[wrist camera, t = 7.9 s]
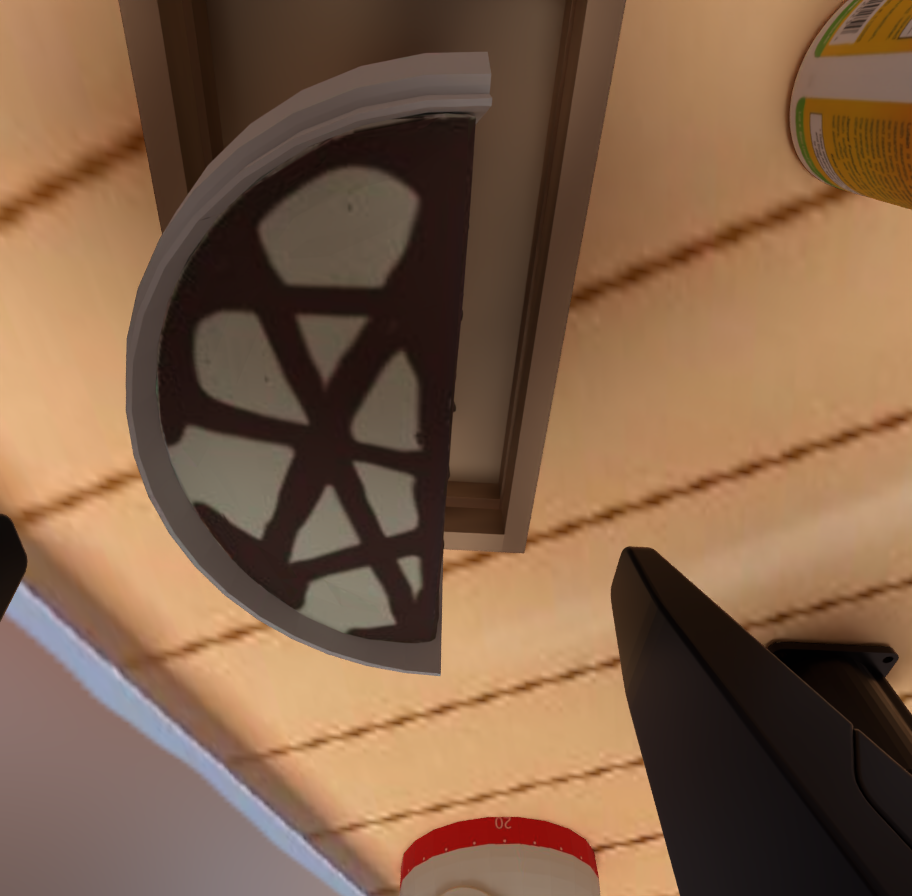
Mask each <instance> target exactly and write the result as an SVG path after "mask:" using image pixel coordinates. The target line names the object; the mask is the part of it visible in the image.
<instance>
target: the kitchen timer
mask: <svg viewBox="0 0 912 896" xmlns="http://www.w3.org/2000/svg"><path fill="white" fill-rule="evenodd" d="M400 896H600V886H599V877H598V871H597V866H596V861H595V855H594V851H593V850H592V849H591V847H590V846H589V844H588V843H587V841H586V840H585V839H584V838H582V837H581V836H579V835H578V834H576V833H574V832H573V831H571V830H570V829H568V828H565V827H562V826H559V825H556V824H553V823H550V822H547V821H541V820H534V819H527V818H520V817H486V818H480V819H473V820H467V821H460V822H456V823H453V824H450V825H447V826H444V827H441V828H438V829H435V830H433V831H431V832H429V833H428V834H426V835H424V836H423V837H421V838H419V839H417V840H416V841H415V842H414V843H413V844H412V845H411V846H410V847H409V848H408V850H407V851H406V852H405V853H404V857H403V861H402V866H401V881H400Z"/></svg>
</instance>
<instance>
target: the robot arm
mask: <svg viewBox="0 0 912 896" xmlns="http://www.w3.org/2000/svg"><path fill="white" fill-rule="evenodd" d="M26 568H27V555H26V552H25V550H24V547H23V545H22V543H21V540H20V538H19V535H18V533H17V531H16V528H15V526H14V524H13V522H12V520H11V519H10V518H9V517H8V516H7V515H4V514H0V621H1V619H2V618H3V616H4V614H5V612H6V610H7V608H8V606H9V604H10V602H11V600H12V598H13V596H14V594H15V592H16V590H17V588H18V586H19V584H20V582H21V580H22V578H23V576H24V574H25V572H26ZM611 604H612V610H613V617H614V623H615V630H616V636H617V643H618V649H619V656H620V662H621V669H622V675H623V681H624V687H625V693H626V697H627V701H628V705H629V709H630V713H631V717H632V720H633V724H634V728H635V732H636V735H637V739H638V743H639V746H640V750H641V754H642V757H643V761H644V765H645V768H646V772H647V776H648V779H649V783H650V787H651V790H652V794H653V798H654V801H655V805H656V809H657V812H658V816H659V820H660V823H661V827H662V831H663V835H664V838H665V842H666V846H667V849H668V853H669V857H670V860H671V864H672V868H673V871H674V875H675V879H676V882H677V886H678V890H679V893H680V896H912V714H911V713H910V712H909V710H908V709H907V707H906V706H905V705H904V703H903V702H902V701H901V699H900V698H899V696H898V695H897V694H896V692H895V691H894V690H893V688H892V687H891V685H890V684H889V683H888V681H887V680H886V678H885V677H886V675H887V674H888V673H889V671H890V670H891V669H892V667H893V666H894V664H895V663H896V662H897V660H898V658H899V657H898V655H897V653H896V652H895V651H894V649H893V648H891V647H884V646H861V645H838V644H815V643H792V642H777V643H774V644H772V645H770V646H769V647H768V649H767V648H766V647H764V646H763V645H762V644H761V643H760V642H759V641H758V640H756V639H755V638H754V637H753V636H752V635H751V634H750V633H749V632H747V631H746V630H745V629H744V628H743V627H742V626H741V625H739V624H738V623H737V622H736V621H735V620H734V619H733V618H732V617H730V616H729V615H728V614H727V613H726V612H725V611H724V610H722V609H721V608H720V607H719V606H718V605H717V604H716V603H714V602H713V601H712V600H711V599H710V598H709V597H708V596H707V595H705V594H704V593H703V592H702V591H701V590H700V589H699V588H697V587H696V586H695V585H694V584H693V583H692V582H691V581H689V580H688V579H687V578H686V577H685V576H684V575H683V574H682V573H680V572H679V571H678V570H677V569H676V568H675V567H674V566H672V565H671V564H670V563H669V562H668V561H667V560H666V559H664V558H663V557H662V556H661V555H660V554H659V553H658V552H657V551H655V550H654V549H652V548H648V547H631V546H629V547H626V548H624V550H623V551H622V553H621V556H620V559H619V562H618V566H617V569H616V572H615V576H614V579H613V582H612V586H611Z"/></svg>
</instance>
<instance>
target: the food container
mask: <svg viewBox="0 0 912 896" xmlns="http://www.w3.org/2000/svg"><path fill="white" fill-rule="evenodd" d="M490 83H491V69H490V63H489V57H488V52H451V53H423V54H418V55H413V56H408V57H403V58H398V59H393V60H388V61H384V62H379V63H374V64H369V65H364V66H360V67H357V68H355V69H353V70H350V71H348V72H345V73H343V74H340V75H338V76H335V77H333V78H331V79H328V80H326V81H323V82H321V83H318V84H316V85H313V86H311V87H309V88H306V89H304V90H301V91H300V92H298V93H297V94H295V95H294V96H292V97H291V98H289V99H288V100H286V101H285V102H283V103H282V104H280V105H278V106H277V107H275V108H274V109H272V110H271V111H269V112H268V113H266V114H265V115H263V116H262V117H260V118H259V119H257V120H255V121H254V122H252V123H251V124H250V125H249V126H248V127H247V128H246V129H245V130H244V131H243V132H241V133H240V134H239V135H238V136H237V137H236V138H235V139H234V140H233V141H232V142H231V143H230V144H229V145H228V146H227V147H226V148H225V149H224V150H223V151H222V152H221V153H220V154H219V155H218V156H217V157H216V158H215V159H214V160H213V161H212V162H211V163H210V164H209V165H208V166H207V167H206V169H205V170H204V172H203V173H202V175H201V176H200V178H199V179H198V180H197V182H196V183H195V185H194V186H193V188H192V189H191V191H190V192H189V193H188V195H187V196H186V198H185V199H184V201H183V202H182V204H181V205H180V206H179V208H178V209H177V211H176V212H175V214H174V216H173V217H172V219H171V221H170V222H169V224H168V226H167V227H166V229H165V231H164V232H163V234H162V236H161V237H160V239H159V241H158V244H157V246H156V248H155V251H154V253H153V255H152V257H151V260H150V262H149V264H148V267H147V269H146V271H145V273H144V276H143V278H142V280H141V283H140V285H139V287H138V290H137V295H136V299H135V304H134V308H133V313H132V317H131V322H130V327H129V331H128V336H127V352H126V414H127V420H128V426H129V431H130V437H131V443H132V449H133V455H134V458H135V461H136V463H137V466H138V469H139V472H140V474H141V477H142V480H143V483H144V485H145V488H146V491H147V494H148V496H149V498H150V500H151V502H152V504H153V505H154V507H155V509H156V511H157V513H158V514H159V516H160V518H161V520H162V521H163V523H164V525H165V527H166V529H167V530H168V532H169V534H170V535H171V537H172V538H173V539H174V540H175V542H176V543H177V544H178V545H179V547H180V548H181V549H182V551H183V552H184V553H185V554H186V556H187V557H188V558H189V559H190V561H191V562H192V563H193V565H194V566H195V567H196V568H197V569H198V570H199V571H200V572H201V573H202V574H203V575H204V576H205V577H206V578H207V579H208V580H209V581H210V582H212V583H213V584H214V585H215V586H216V587H217V588H218V589H219V590H220V591H221V592H222V593H223V594H224V595H225V596H226V597H228V598H229V599H231V600H232V601H233V602H235V603H236V604H237V605H239V606H240V607H241V608H243V609H244V610H245V611H247V612H248V613H249V614H251V615H252V616H254V617H255V618H256V619H258V620H259V621H261V622H263V623H265V624H266V625H268V626H270V627H272V628H274V629H275V630H277V631H279V632H281V633H282V634H284V635H286V636H288V637H289V638H291V639H293V640H296V641H298V642H300V643H303V644H305V645H307V646H310V647H312V648H315V649H317V650H319V651H322V652H324V653H326V654H329V655H332V656H335V657H339V658H342V659H345V660H349V661H352V662H355V663H359V664H362V665H365V666H370V667H376V668H381V669H386V670H392V671H397V672H403V673H412V674H423V675H434V676H440V675H441V630H442V580H443V549H444V539H443V538H444V523H445V508H446V496H447V484H448V479H449V477H450V468H449V460H450V447H451V434H452V420H453V412H455V411H456V405H455V402H454V393H455V381H456V376H457V374H456V370H457V359H458V349H459V338H460V328H461V321H462V319H463V310H462V306H463V296H464V280H465V268H466V255H467V242H468V230H469V217H470V204H471V188H472V173H473V157H474V141H475V126H476V124H477V123H478V121H479V120H480V119H481V118H482V117H483V115H484V114H485V113H486V112H487V111H488V110H489V108H490V107H491V106H492V97H491V95H490Z"/></svg>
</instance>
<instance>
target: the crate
mask: <svg viewBox="0 0 912 896" xmlns="http://www.w3.org/2000/svg"><path fill="white" fill-rule="evenodd" d="M625 3H626V0H119V5H120V11H121V16H122V22H123V27H124V32H125V38H126V43H127V48H128V54H129V59H130V65H131V70H132V75H133V81H134V86H135V91H136V97H137V102H138V108H139V113H140V118H141V124H142V129H143V134H144V140H145V145H146V151H147V156H148V161H149V167H150V172H151V177H152V183H153V188H154V194H155V199H156V204H157V210H158V215H159V220H160V226H161V231H162V234H163V232H164V231H165V229H166V227H167V226H168V224H169V222H170V221H171V219H172V217H173V216H174V214H175V212H176V211H177V209H178V208H179V206H180V205H181V204H182V202H183V201H184V199H185V198H186V196H187V195H188V193H189V192H190V191H191V189H192V188H193V186H194V185H195V183H196V182H197V180H198V179H199V178H200V176H201V175H202V173H203V172H204V170H205V169H206V167H207V166H208V165H209V164H210V163H211V162H212V161H213V160H214V159H215V158H216V157H217V156H218V155H219V154H220V153H221V152H222V151H223V150H224V149H225V148H226V147H227V146H228V145H229V144H230V143H231V142H232V141H233V140H234V139H235V138H236V137H237V136H238V135H239V134H240V133H241V132H243V131H244V130H245V129H246V128H247V127H248V126H249V125H250V124H251V123H252V122H254V121H255V120H257V119H259V118H260V117H262V116H263V115H265V114H266V113H268V112H269V111H271V110H272V109H274V108H275V107H277V106H278V105H280V104H282V103H283V102H285V101H286V100H288V99H289V98H291V97H292V96H294V95H295V94H297V93H298V92H300V91H301V90H304V89H306V88H309V87H311V86H313V85H316V84H318V83H321V82H323V81H326V80H328V79H331V78H333V77H335V76H338V75H340V74H343V73H345V72H348V71H350V70H353V69H355V68H357V67H360V66H364V65H369V64H374V63H379V62H384V61H388V60H393V59H398V58H403V57H408V56H413V55H418V54H423V53H451V52H488V57H489V63H490V69H491V83H490V95H491V97H492V106H491V107H490V108H489V110H488V111H487V112H486V113H485V114H484V115H483V117H482V118H481V119H480V120H479V121H478V123H477V124H476V126H475V141H474V157H473V173H472V188H471V204H470V217H469V230H468V242H467V255H466V268H465V280H464V296H463V306H462V310H463V319H462V321H461V328H460V338H459V349H458V359H457V370H456V374H457V376H456V381H455V393H454V402H455V405H456V411H455V412H453V420H452V434H451V447H450V460H449V468H450V477H449V479H448V484H447V496H446V508H445V523H444V538H443V539H444V549H449V550H469V551H489V552H509V553H524V551H525V546H526V541H527V535H528V530H529V524H530V519H531V513H532V508H533V503H534V497H535V492H536V486H537V481H538V475H539V470H540V465H541V459H542V454H543V448H544V443H545V437H546V432H547V426H548V421H549V416H550V410H551V405H552V399H553V394H554V388H555V383H556V378H557V372H558V367H559V361H560V356H561V350H562V345H563V340H564V334H565V329H566V323H567V318H568V312H569V307H570V301H571V296H572V291H573V285H574V280H575V274H576V269H577V263H578V258H579V253H580V247H581V242H582V236H583V231H584V225H585V220H586V215H587V209H588V204H589V198H590V193H591V187H592V182H593V176H594V171H595V166H596V160H597V155H598V149H599V144H600V138H601V133H602V128H603V122H604V117H605V111H606V106H607V100H608V95H609V90H610V84H611V79H612V73H613V68H614V62H615V57H616V51H617V46H618V41H619V35H620V30H621V24H622V19H623V13H624V8H625Z"/></svg>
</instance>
